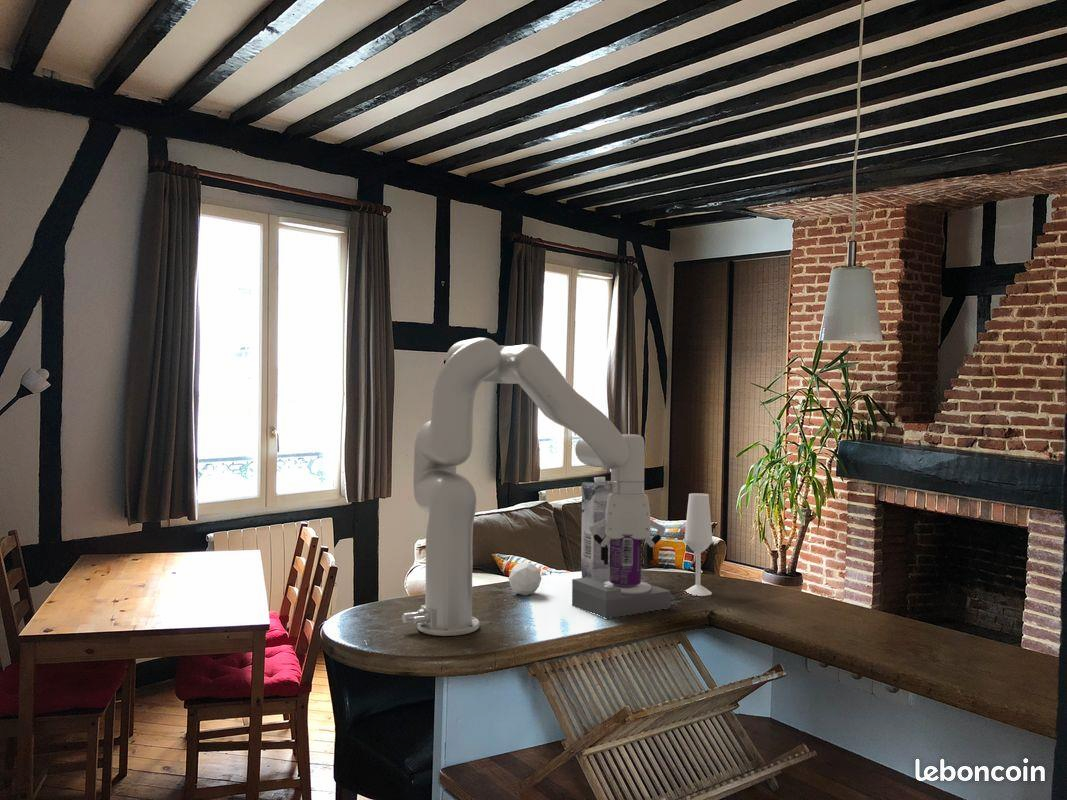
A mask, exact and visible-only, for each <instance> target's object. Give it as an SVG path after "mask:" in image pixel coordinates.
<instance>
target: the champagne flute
mask: <svg viewBox="0 0 1067 800" xmlns="http://www.w3.org/2000/svg"><path fill="white" fill-rule="evenodd" d="M712 529H713V528H712V519H711V506H710V494H708V493H695V492H694V493H693V492H692V493H689V494H688V502H687V511H686V521H685V529H684V541H685V544H687V546H688V547H689V549H691V550H692V551H693V552H694V553H695V584H694V585H692V586H691V587H689V588H687V589H686V590H684V591H686V592H687V593H689V594H692V595H691V596H696V595H697V597H698V596H700V597H703V596H704V597H705V596H711V595H712V591H710V590H709V589H707V587H705V586H703V585H701V576H702V575H701V574H702V573H701V571H702V570H701V567H702V566H701V564H702V563H701V561H702V560H701V558H702V557H701V556H702V555H701V554H702V553H704V552H705V551H706V550H707V549H708V548H709V547H710V545H712V542H713V530H712ZM689 594H688V595H689Z"/></svg>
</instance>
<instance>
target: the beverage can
mask: <svg viewBox="0 0 1067 800" xmlns="http://www.w3.org/2000/svg"><path fill="white" fill-rule="evenodd" d="M622 536H624V537H623V538H621V539H618V540H615V539H611V540H610V577H609V581H610V582H611V583H612V584H614V585H615V586H618V587H625V588H628V587H635V586H636V585H638V584H640V583H641V581H642V540H636V539H633V538H632V537H630V536H633V535H622Z"/></svg>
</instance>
